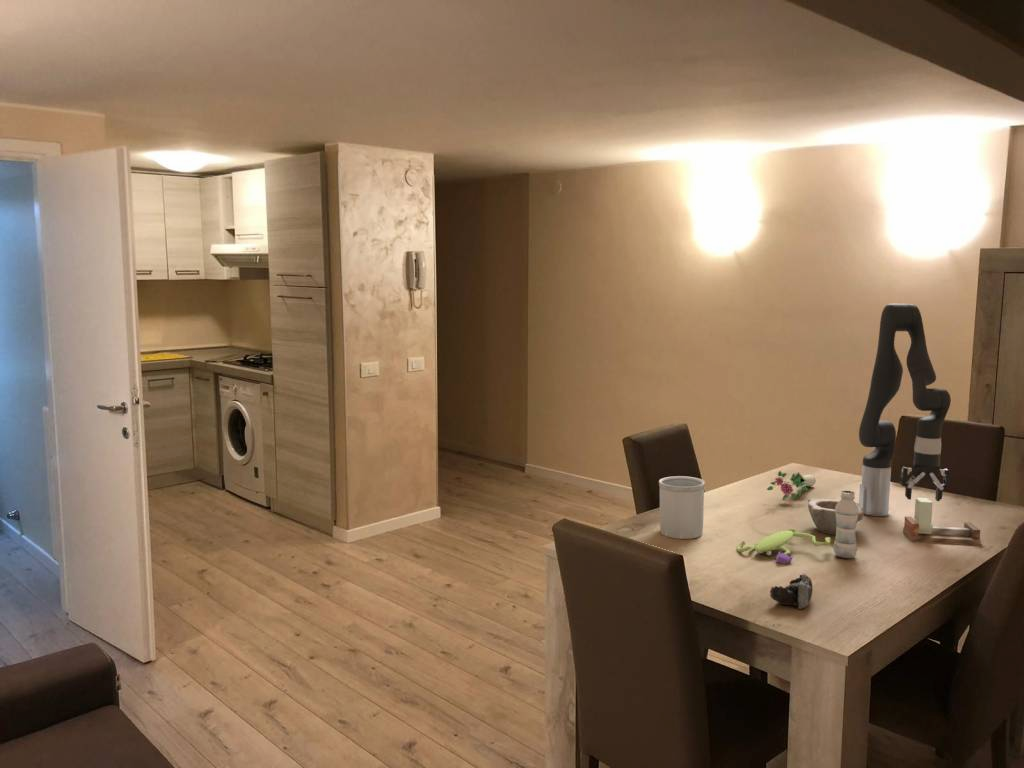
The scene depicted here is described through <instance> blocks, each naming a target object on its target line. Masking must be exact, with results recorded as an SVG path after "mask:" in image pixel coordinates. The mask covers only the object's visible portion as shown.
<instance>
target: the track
mask: <svg viewBox="0 0 1024 768" xmlns="http://www.w3.org/2000/svg"><path fill="white" fill-rule="evenodd" d="M913 518H914V517H913V516H904V523H903V524H904V526H903V527H902V532H903V534H904V535H905V536H906V537H907V538H908V539H909V540H910V541H911V542H915V543H933V544H935V543H936V544H954V545H956V544H957V545H959V544H960V545H972V546H973V545H975V546H981V544H982V539H981V529H980V528H979V527H977V525H975V524H973V523H972V522H968V521H966V522H965V521H964V523H963V527H953V526H951V527H950V526H934V525H933V529H932V530H931V534H922V533H918V529H919V524H918V523H917V522H916V521H915V520H914V519H913Z"/></svg>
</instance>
